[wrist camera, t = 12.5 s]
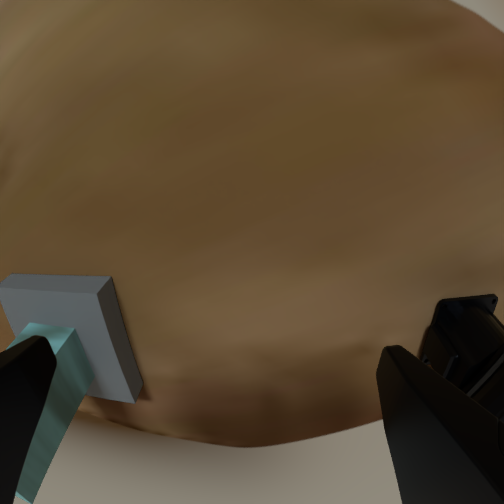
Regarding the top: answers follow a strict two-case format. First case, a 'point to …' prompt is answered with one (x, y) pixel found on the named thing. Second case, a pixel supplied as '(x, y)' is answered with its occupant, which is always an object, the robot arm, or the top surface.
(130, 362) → the gray square slab
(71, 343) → the teal block
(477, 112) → the top surface
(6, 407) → the robot arm
